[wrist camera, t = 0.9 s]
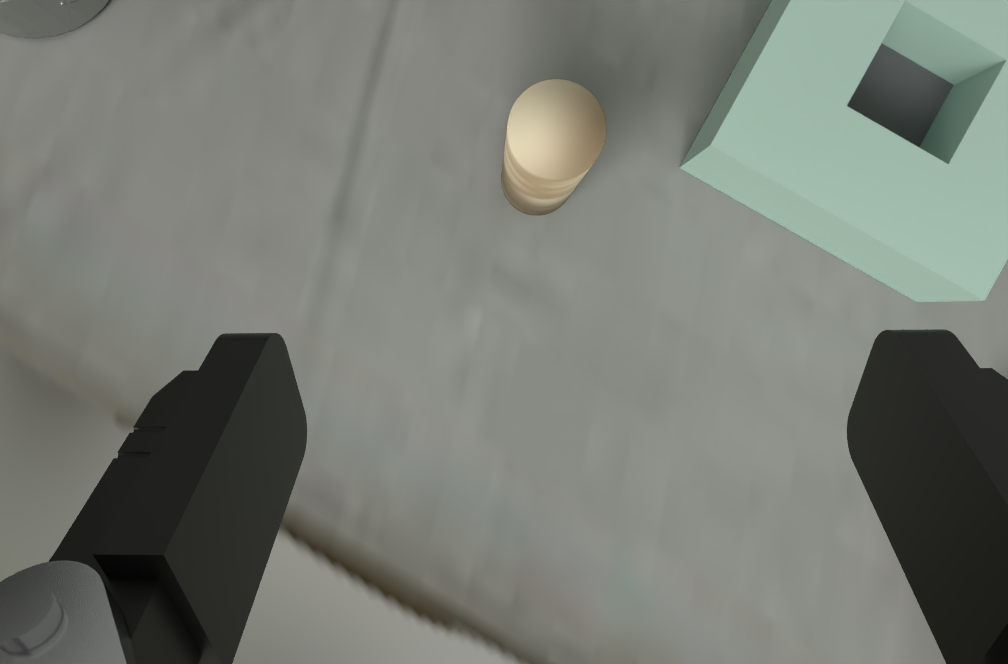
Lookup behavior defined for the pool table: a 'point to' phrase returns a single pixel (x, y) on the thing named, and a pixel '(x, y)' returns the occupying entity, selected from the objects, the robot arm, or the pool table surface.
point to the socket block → (874, 137)
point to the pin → (550, 144)
